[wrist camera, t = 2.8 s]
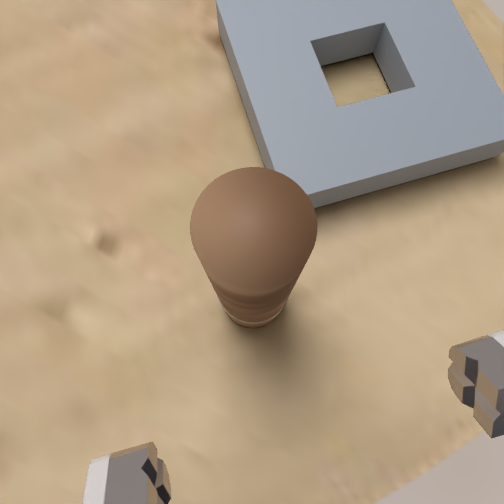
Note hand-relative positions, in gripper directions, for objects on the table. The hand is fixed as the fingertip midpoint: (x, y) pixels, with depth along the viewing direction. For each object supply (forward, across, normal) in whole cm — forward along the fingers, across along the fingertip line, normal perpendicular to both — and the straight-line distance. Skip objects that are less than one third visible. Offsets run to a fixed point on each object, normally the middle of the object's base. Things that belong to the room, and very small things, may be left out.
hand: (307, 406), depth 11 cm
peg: (+11, 0, +4) cm, 12 cm away
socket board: (+19, -10, -4) cm, 22 cm away
